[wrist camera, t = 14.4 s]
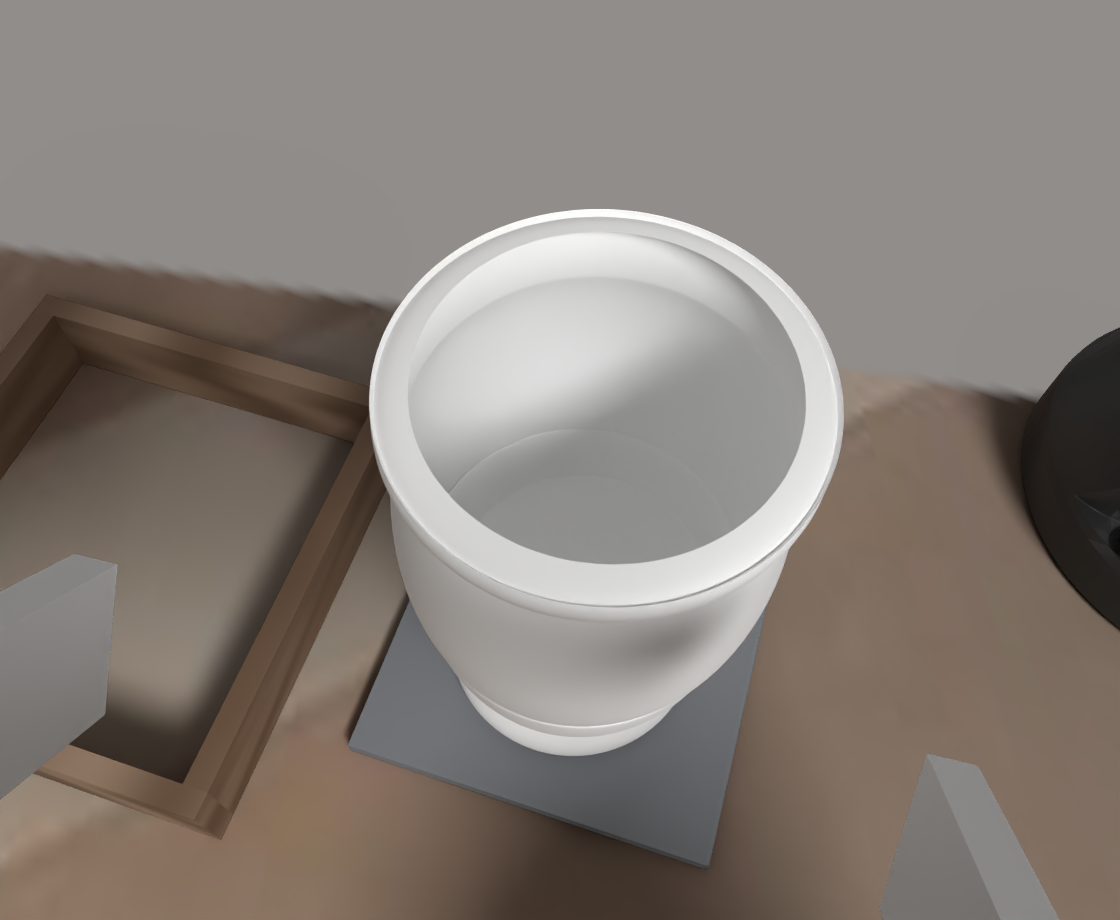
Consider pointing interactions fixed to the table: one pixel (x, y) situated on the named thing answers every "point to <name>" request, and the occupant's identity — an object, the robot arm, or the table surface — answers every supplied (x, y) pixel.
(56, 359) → the collar
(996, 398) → the table surface
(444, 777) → the pad
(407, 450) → the jar
